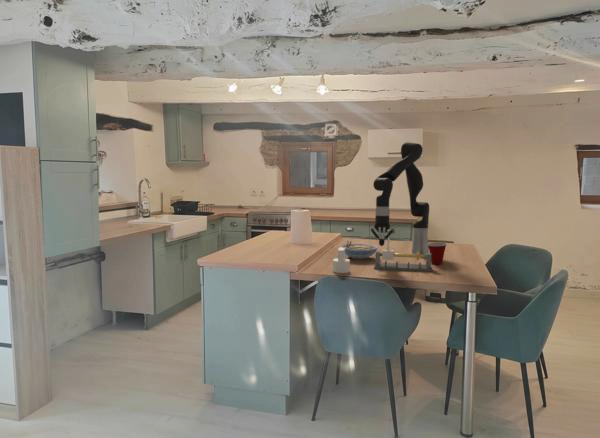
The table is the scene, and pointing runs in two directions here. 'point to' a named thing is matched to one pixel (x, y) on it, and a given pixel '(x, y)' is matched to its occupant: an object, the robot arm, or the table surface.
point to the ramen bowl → (359, 250)
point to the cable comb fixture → (404, 266)
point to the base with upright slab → (341, 262)
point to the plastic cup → (437, 252)
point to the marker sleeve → (388, 253)
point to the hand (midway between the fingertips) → (381, 245)
